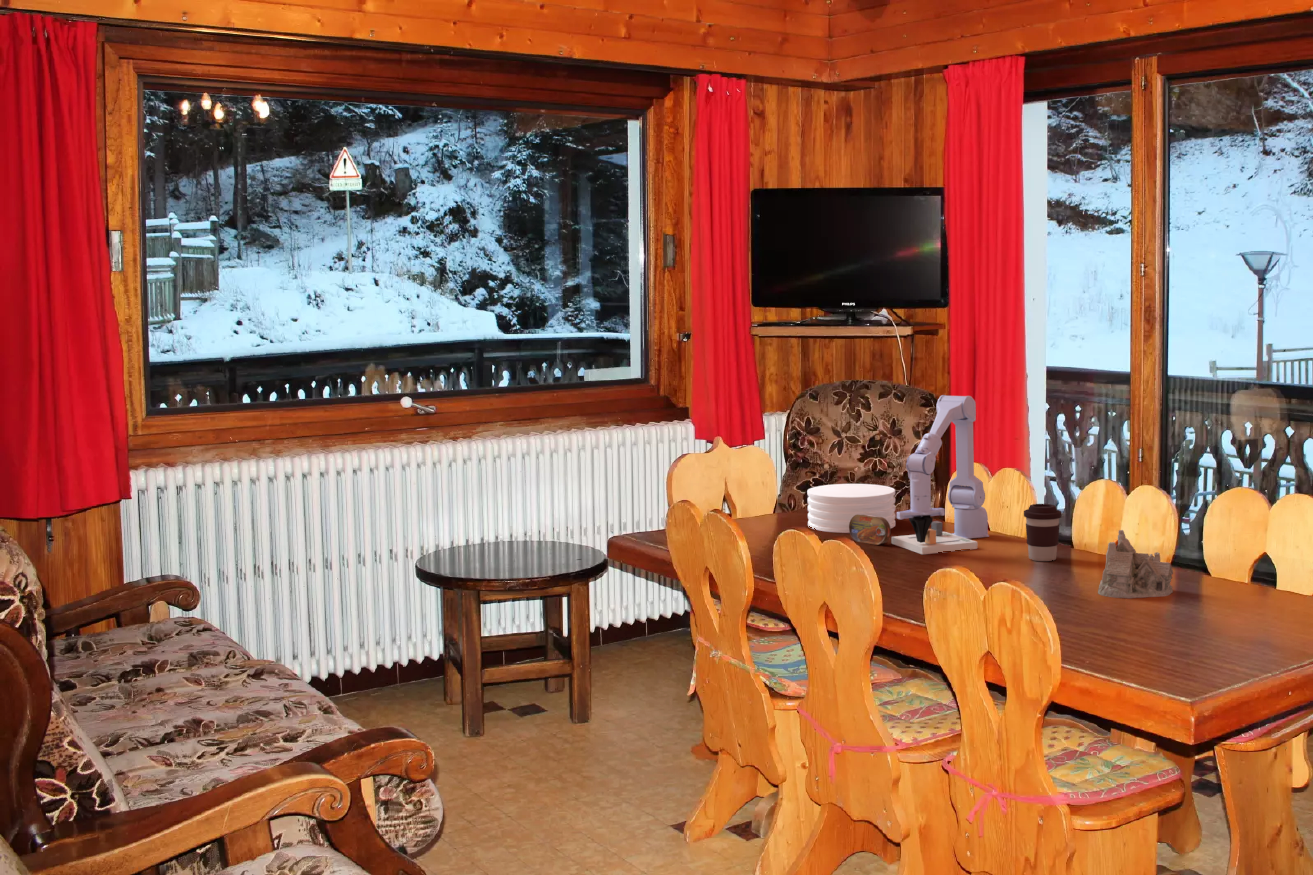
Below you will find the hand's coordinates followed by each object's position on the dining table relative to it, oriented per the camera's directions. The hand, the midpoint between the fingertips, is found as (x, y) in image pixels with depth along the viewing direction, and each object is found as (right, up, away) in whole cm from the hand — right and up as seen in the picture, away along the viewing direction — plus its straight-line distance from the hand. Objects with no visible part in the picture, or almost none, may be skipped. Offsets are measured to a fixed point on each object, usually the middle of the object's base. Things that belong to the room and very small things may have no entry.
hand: (921, 541), depth 367 cm
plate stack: (-13, +1, +45) cm, 47 cm away
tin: (-12, -2, +15) cm, 20 cm away
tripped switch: (+3, 0, +1) cm, 3 cm away
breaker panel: (+5, -2, +7) cm, 9 cm away
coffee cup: (+30, -4, -15) cm, 34 cm away
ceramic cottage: (+41, -8, -55) cm, 69 cm away
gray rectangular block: (+7, +1, +13) cm, 15 cm away
